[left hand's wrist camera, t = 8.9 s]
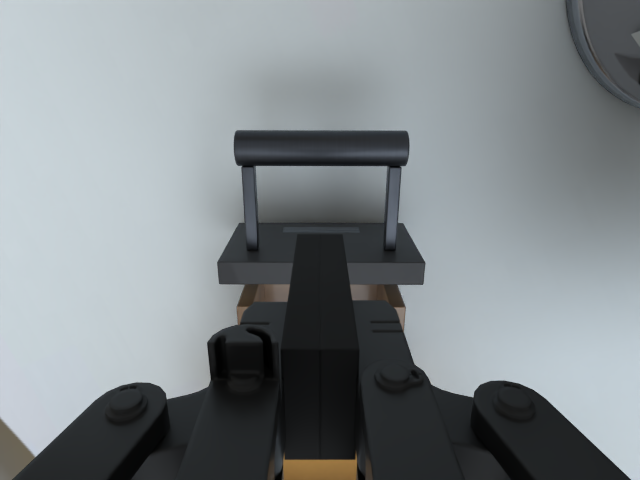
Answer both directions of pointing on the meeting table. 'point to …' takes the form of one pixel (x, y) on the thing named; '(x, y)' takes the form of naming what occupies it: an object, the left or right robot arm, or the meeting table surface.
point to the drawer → (359, 238)
